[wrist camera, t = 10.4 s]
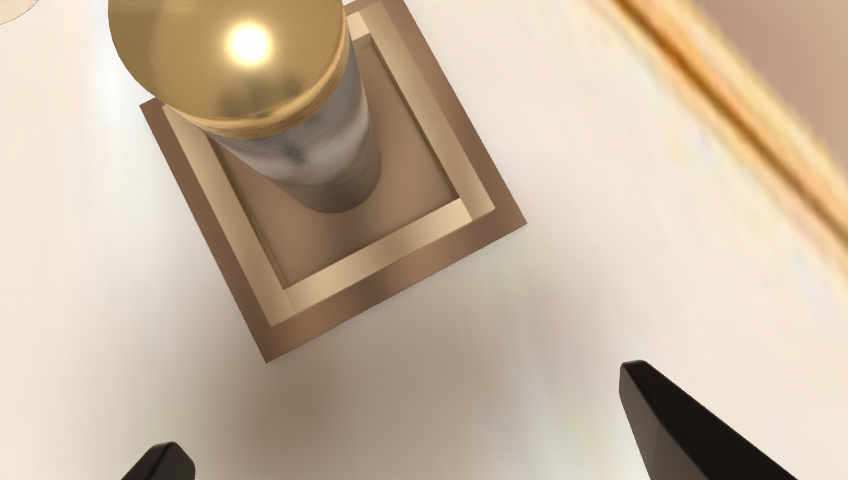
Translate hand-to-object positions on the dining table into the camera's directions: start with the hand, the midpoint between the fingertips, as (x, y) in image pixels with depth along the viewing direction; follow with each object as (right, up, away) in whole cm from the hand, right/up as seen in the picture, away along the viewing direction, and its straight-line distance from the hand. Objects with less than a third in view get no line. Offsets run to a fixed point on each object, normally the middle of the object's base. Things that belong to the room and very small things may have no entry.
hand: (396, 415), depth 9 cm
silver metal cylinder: (-4, +7, +13) cm, 16 cm away
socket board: (-4, +7, +14) cm, 16 cm away
